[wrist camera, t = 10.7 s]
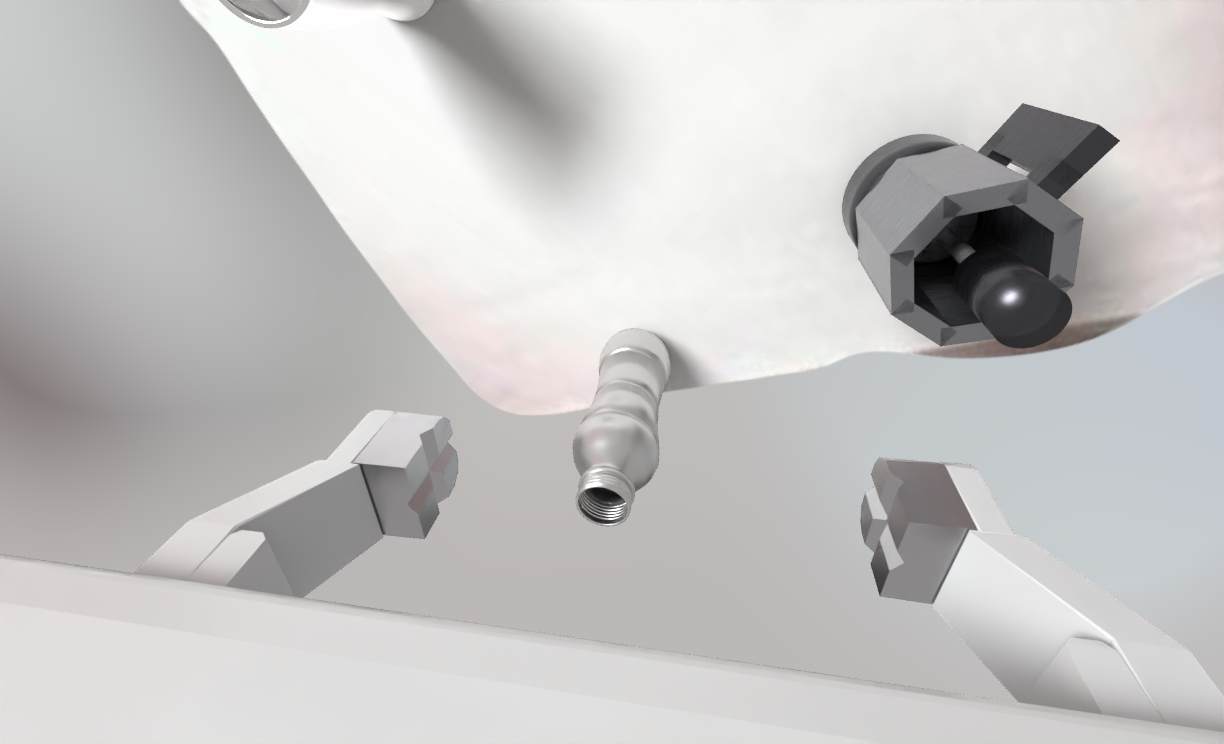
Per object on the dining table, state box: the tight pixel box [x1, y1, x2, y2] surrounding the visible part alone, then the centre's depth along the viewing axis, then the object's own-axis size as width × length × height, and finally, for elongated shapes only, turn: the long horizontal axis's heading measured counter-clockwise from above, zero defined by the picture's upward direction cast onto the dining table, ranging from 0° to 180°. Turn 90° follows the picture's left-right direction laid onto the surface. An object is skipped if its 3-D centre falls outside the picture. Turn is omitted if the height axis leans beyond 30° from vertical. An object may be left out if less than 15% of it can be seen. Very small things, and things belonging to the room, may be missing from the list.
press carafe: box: [842, 104, 1120, 346], centre depth 35 cm, size 12×9×14 cm
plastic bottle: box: [573, 329, 671, 526], centre depth 44 cm, size 6×7×20 cm
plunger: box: [914, 212, 1072, 348], centre depth 31 cm, size 5×5×14 cm
